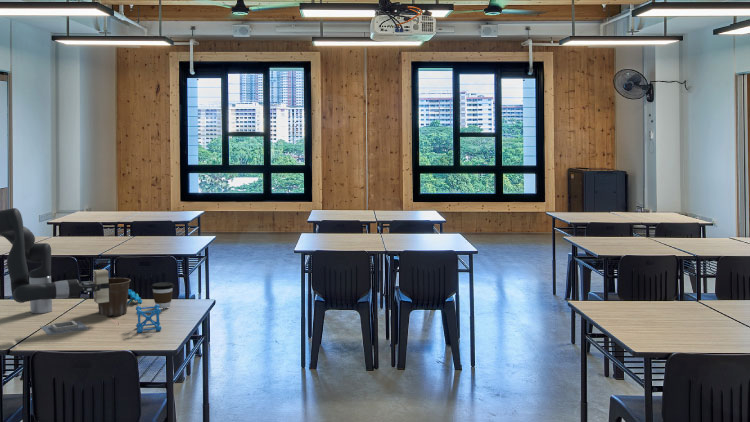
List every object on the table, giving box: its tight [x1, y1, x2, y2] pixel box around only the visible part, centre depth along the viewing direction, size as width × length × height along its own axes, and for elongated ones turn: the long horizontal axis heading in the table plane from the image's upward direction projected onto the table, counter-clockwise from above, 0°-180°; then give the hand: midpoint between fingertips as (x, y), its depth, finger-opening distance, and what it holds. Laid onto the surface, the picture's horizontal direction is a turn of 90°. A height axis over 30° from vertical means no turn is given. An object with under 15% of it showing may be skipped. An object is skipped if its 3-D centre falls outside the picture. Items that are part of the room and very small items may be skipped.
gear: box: [127, 288, 143, 305], centre depth 317 cm, size 11×6×10 cm
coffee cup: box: [150, 281, 175, 308], centre depth 307 cm, size 11×11×12 cm
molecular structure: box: [135, 304, 162, 334], centre depth 269 cm, size 10×10×10 cm
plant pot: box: [97, 277, 131, 317], centre depth 295 cm, size 16×16×16 cm
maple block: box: [92, 269, 109, 304], centre depth 276 cm, size 5×5×14 cm
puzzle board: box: [40, 320, 90, 336], centre depth 267 cm, size 16×16×2 cm
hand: (107, 284), depth 277 cm, fingers closed on maple block, 5 cm apart
